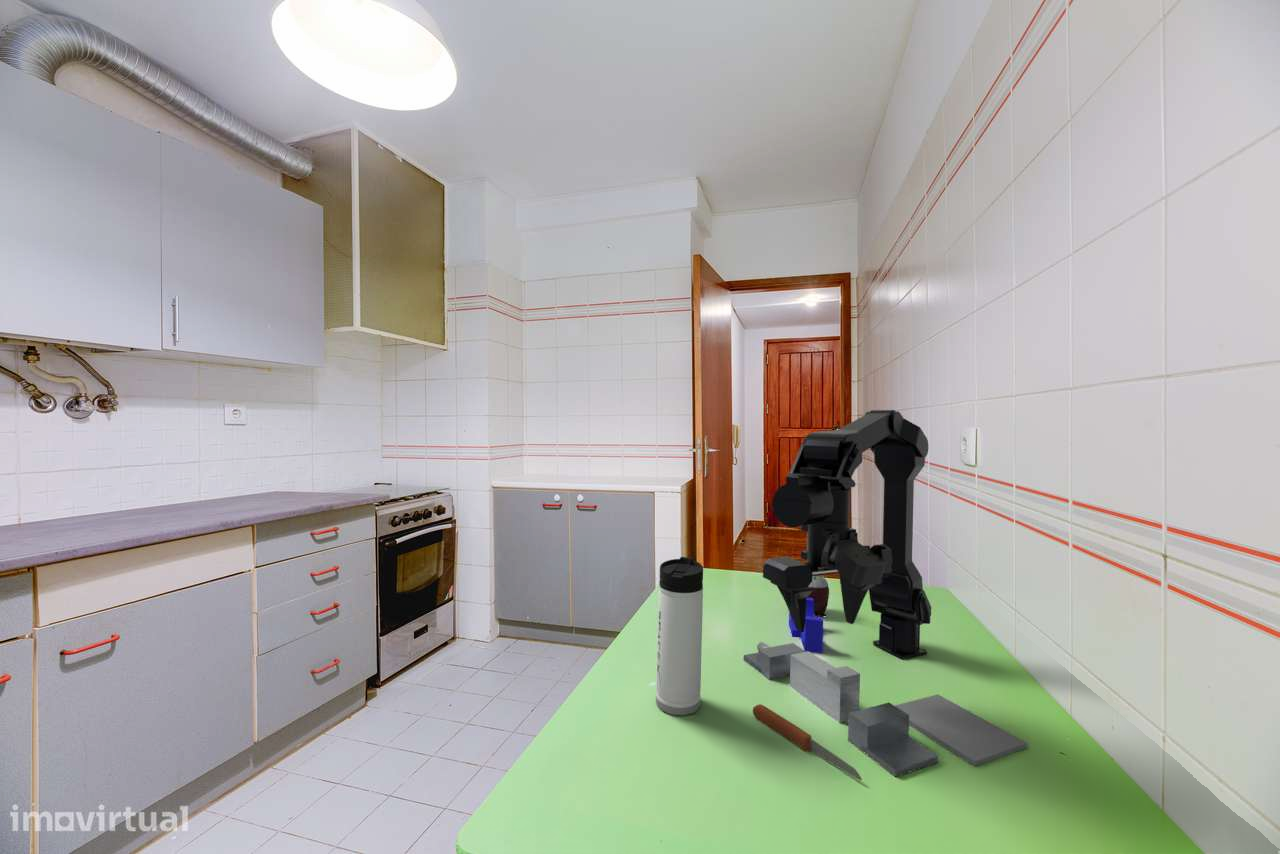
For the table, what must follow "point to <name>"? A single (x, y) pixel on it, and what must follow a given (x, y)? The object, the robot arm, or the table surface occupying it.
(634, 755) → the table surface
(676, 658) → the travel mug
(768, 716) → the kitchen knife
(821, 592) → the mate gourd
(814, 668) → the steel bar
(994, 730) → the mat
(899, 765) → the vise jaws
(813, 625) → the blue stepped block
